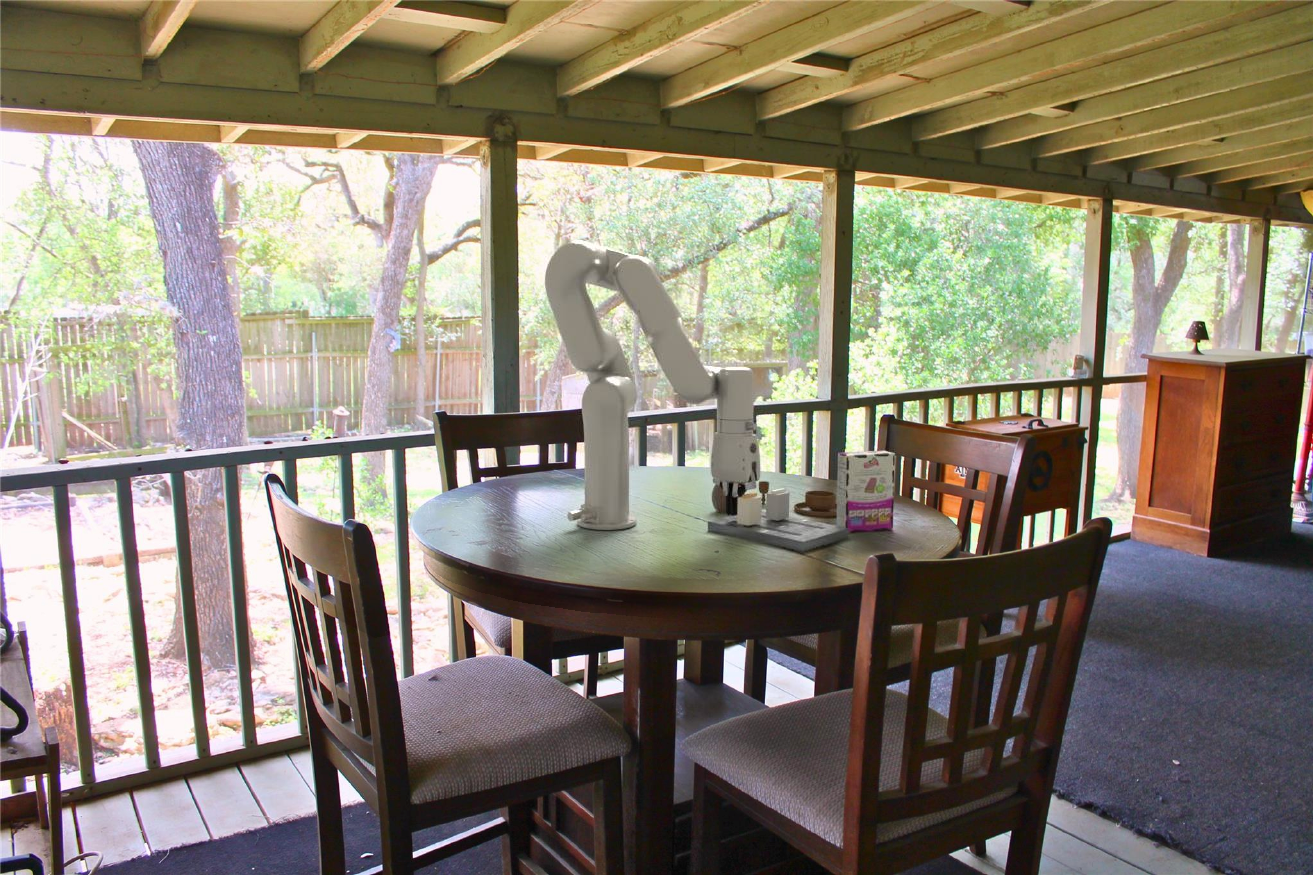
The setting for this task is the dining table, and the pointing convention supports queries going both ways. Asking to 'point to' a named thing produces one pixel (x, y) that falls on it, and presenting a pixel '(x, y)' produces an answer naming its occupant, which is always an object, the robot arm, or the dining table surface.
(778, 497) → the grey fader
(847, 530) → the console
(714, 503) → the vase
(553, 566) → the dining table surface
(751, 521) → the ivory fader
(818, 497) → the place setting
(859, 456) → the candy bar box
